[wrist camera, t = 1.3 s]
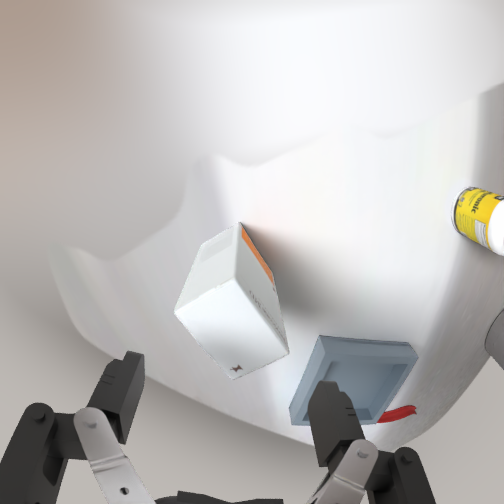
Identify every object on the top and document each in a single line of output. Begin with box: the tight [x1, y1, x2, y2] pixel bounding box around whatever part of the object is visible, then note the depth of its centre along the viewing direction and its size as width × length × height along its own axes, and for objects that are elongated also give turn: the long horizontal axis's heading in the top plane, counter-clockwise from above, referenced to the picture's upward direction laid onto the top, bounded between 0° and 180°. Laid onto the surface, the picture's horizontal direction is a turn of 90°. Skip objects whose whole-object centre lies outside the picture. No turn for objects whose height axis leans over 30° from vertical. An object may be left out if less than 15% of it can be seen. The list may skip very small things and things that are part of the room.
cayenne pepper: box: [377, 405, 416, 423], centre depth 36 cm, size 12×5×2 cm, turn 66°
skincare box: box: [174, 222, 289, 380], centre depth 22 cm, size 6×4×12 cm
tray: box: [289, 335, 418, 426], centre depth 32 cm, size 12×12×3 cm
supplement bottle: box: [451, 187, 504, 256], centre depth 21 cm, size 5×5×10 cm
